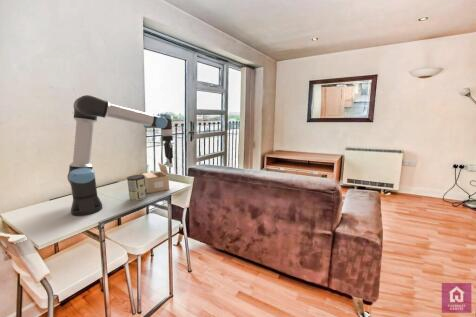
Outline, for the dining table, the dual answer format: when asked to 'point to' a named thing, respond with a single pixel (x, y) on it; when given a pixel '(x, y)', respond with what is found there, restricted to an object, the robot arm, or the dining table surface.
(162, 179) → the carton
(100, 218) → the dining table surface
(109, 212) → the dining table surface
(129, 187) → the coffee can
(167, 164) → the flap
